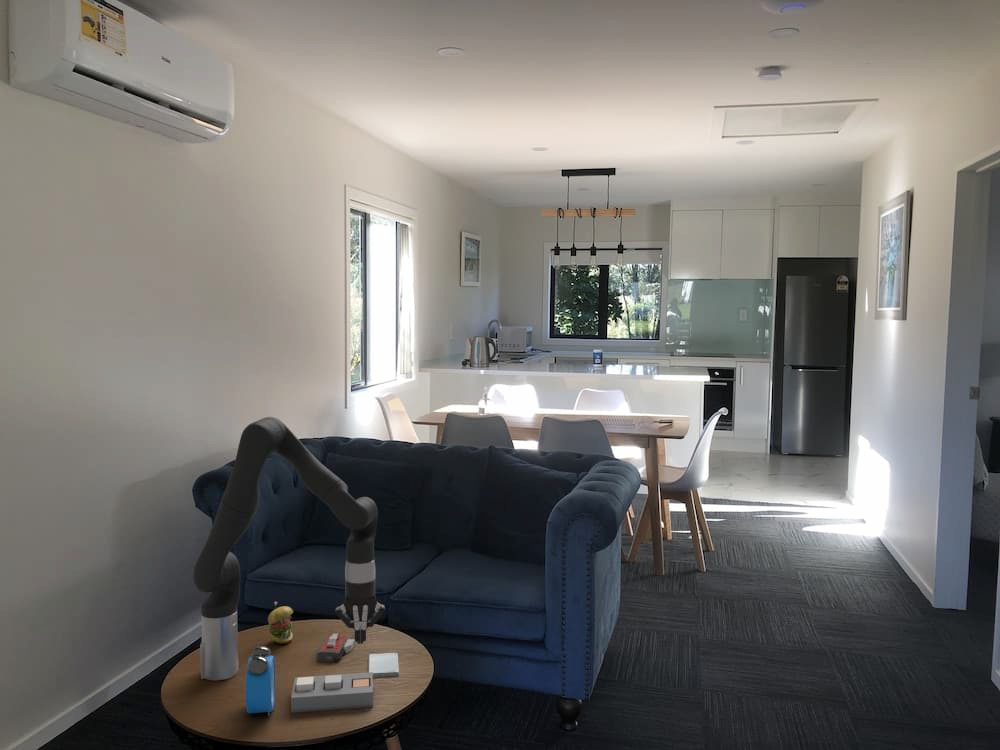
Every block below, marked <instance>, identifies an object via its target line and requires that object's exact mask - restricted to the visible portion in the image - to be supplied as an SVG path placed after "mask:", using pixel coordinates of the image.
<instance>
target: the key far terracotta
mask: <svg viewBox="0 0 1000 750" xmlns="http://www.w3.org/2000/svg"><path fill="white" fill-rule="evenodd" d="M354 687H369V679H360V680H353V688H354Z"/></svg>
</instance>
